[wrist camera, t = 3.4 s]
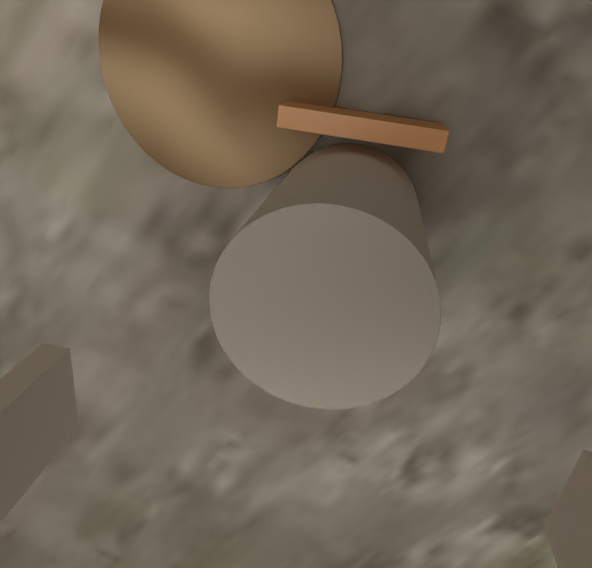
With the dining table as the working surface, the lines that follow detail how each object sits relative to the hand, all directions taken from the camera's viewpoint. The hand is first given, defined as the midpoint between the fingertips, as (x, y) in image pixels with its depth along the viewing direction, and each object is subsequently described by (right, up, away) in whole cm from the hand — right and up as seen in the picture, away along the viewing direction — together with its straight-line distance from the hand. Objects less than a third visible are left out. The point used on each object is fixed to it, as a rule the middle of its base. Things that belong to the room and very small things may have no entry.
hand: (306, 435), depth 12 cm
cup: (+3, +8, +15) cm, 17 cm away
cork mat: (-4, +16, +13) cm, 20 cm away
